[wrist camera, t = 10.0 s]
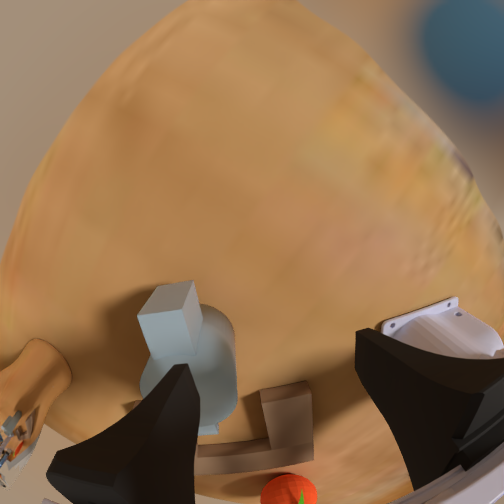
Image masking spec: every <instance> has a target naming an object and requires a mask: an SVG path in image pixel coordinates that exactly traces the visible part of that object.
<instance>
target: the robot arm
mask: <svg viewBox="0 0 504 504" xmlns="http://www.w3.org/2000/svg"><path fill="white" fill-rule="evenodd" d="M392 323H393V324H392ZM391 324H392V326H391ZM355 370H356V372H357V374H358V376H359V378H360V381H361V383H362V385H363V386H364V388H365V389H366V391H367V392H368V394H369V396H370V397H371V399H372V400H373V402H374V403H375V405H376V406H377V408H378V409H379V411H380V412H381V414H382V415H383V417H384V418H385V420H386V421H387V423H388V425H389V427H390V429H391V431H392V433H393V435H394V437H395V440H396V442H397V444H398V446H399V449H400V451H401V454H402V456H403V459H404V461H405V464H406V467H407V470H408V472H409V476H410V479H411V482H412V486H413V489H414V492H412V493H410V494H408V495H406V496H404V497H401V498H399V499H397V500H395V501H393V502H390V503H388V504H494V503H495V502H496V501H497V500H498V499H499V498H500V497H501V496H503V495H504V346H503V343H502V340H501V338H500V336H499V335H498V333H497V332H496V331H495V330H494V329H493V328H492V327H490V326H489V325H487V324H485V323H484V322H482V321H481V320H479V319H477V318H476V317H474V316H473V315H471V314H469V313H468V312H466V311H465V310H463V309H461V308H460V307H458V298H457V297H455V296H454V297H451V298H449V299H446V300H444V301H441V302H439V303H436V304H433V305H430V306H428V307H425V308H422V309H419V310H416V311H413V312H411V313H408V314H405V315H402V316H398V317H395V318H392V319H389V320H386V321H384V322H383V324H382V326H381V333H380V332H378V331H375V330H373V329H370V328H366V329H362V330H359V331H356V344H355ZM199 423H200V396H199V393H198V390H197V387H196V385H195V382H194V379H193V376H192V374H191V371H190V368H189V365H188V363H184V364H174V365H173V366H172V367H171V369H170V370H169V371H168V372H167V373H166V375H165V376H164V377H163V378H162V379H161V380H160V382H159V383H158V384H157V385H156V386H155V387H154V388H153V390H152V391H151V392H150V393H149V394H148V395H147V396H146V397H145V398H144V399H143V400H142V401H141V402H140V403H139V404H138V405H137V406H136V407H135V408H134V409H133V410H132V411H130V412H129V413H128V414H127V415H126V416H124V417H123V418H122V419H121V420H119V421H118V422H116V423H115V424H113V425H112V426H110V427H109V428H107V429H106V430H104V431H103V432H101V433H99V434H97V435H95V436H94V437H92V438H90V439H88V440H85V441H83V442H81V443H79V444H76V445H74V446H71V447H68V448H65V449H62V450H59V451H57V452H56V454H55V456H54V459H53V460H52V463H51V464H50V466H49V468H48V470H47V473H46V477H47V479H48V481H49V482H50V484H51V485H52V486H53V487H54V488H55V489H56V490H58V491H59V492H60V493H61V494H62V495H63V496H65V497H66V498H67V499H68V500H69V501H70V502H72V503H73V504H195V492H194V460H195V452H196V445H197V437H198V430H199ZM42 504H58V503H56V502H53V501H51V500H48V499H46V498H44V499H43V501H42Z"/></svg>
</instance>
